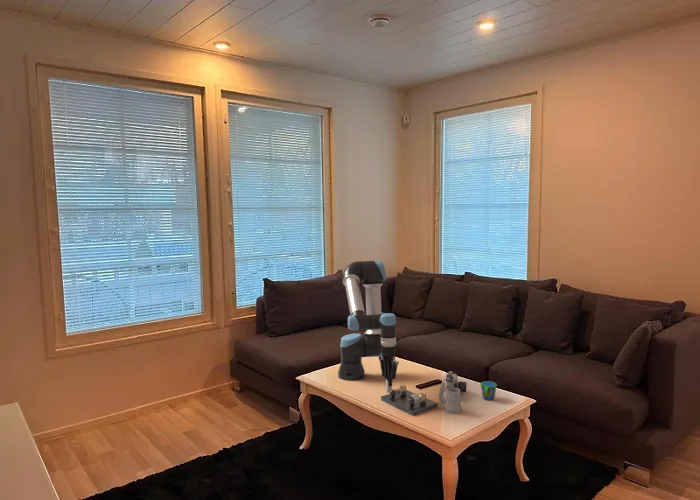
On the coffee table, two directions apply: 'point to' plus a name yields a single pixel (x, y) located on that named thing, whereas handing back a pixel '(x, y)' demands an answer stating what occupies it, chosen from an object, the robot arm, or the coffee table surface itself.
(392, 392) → the knob left
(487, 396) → the snack cup
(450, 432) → the coffee table surface
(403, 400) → the control panel
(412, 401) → the knob right
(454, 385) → the camera
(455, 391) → the mug
